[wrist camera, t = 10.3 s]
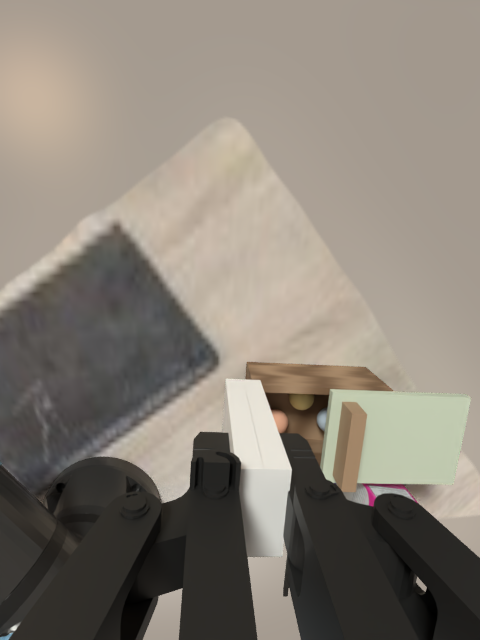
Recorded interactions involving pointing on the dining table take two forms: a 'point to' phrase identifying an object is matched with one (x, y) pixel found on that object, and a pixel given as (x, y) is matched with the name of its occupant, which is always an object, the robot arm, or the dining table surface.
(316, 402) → the box
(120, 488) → the robot arm
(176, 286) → the dining table surface
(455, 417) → the lid
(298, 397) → the ball mustard
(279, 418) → the ball terracotta
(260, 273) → the dining table surface
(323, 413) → the ball greyblue
